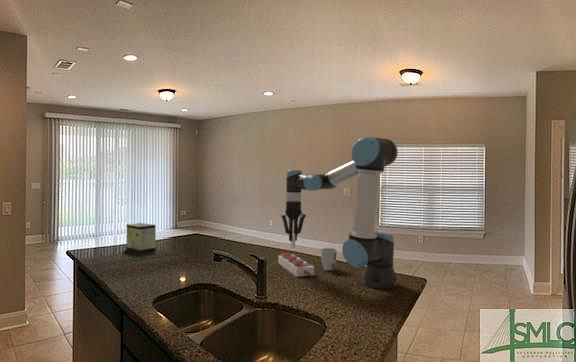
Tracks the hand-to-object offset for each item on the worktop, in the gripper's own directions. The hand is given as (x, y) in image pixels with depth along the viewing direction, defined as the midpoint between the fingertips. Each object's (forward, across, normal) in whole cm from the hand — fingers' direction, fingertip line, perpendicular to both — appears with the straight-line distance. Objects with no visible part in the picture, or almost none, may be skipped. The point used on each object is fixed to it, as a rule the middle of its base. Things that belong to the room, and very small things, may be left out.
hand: (292, 247), depth 201 cm
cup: (+12, -18, +4) cm, 22 cm away
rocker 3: (+6, 0, +7) cm, 9 cm away
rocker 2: (+6, 0, -2) cm, 6 cm away
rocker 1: (+6, 0, -11) cm, 13 cm away
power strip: (+11, -2, +1) cm, 12 cm away
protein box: (+13, +73, -73) cm, 104 cm away
